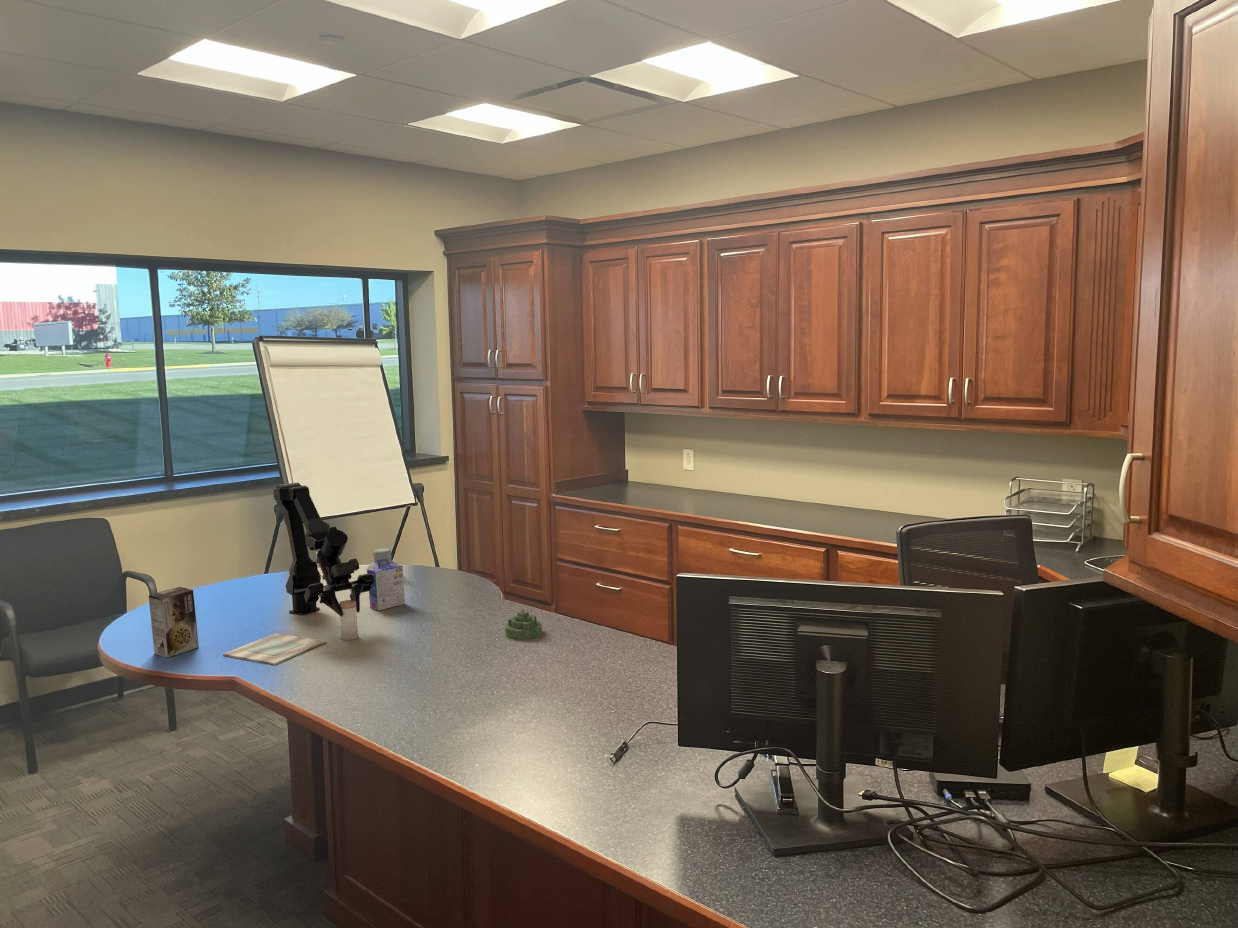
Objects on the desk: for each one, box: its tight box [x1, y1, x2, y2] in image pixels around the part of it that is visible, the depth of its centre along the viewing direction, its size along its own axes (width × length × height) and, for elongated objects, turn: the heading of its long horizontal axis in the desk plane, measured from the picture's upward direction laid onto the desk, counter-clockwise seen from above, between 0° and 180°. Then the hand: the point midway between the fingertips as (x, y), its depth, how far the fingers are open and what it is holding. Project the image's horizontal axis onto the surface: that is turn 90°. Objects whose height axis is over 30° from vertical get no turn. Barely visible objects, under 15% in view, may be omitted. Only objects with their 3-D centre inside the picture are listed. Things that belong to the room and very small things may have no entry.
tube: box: [339, 599, 359, 641], centre depth 246 cm, size 4×4×10 cm
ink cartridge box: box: [366, 558, 406, 611], centre depth 275 cm, size 10×6×14 cm, turn 136°
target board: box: [222, 632, 327, 666], centre depth 238 cm, size 18×18×1 cm
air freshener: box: [366, 547, 398, 571], centre depth 308 cm, size 11×8×10 cm
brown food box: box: [148, 586, 200, 659], centre depth 237 cm, size 9×6×16 cm
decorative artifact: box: [504, 608, 543, 641], centre depth 247 cm, size 10×7×10 cm
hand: (350, 613), depth 244 cm, fingers closed on tube, 4 cm apart
